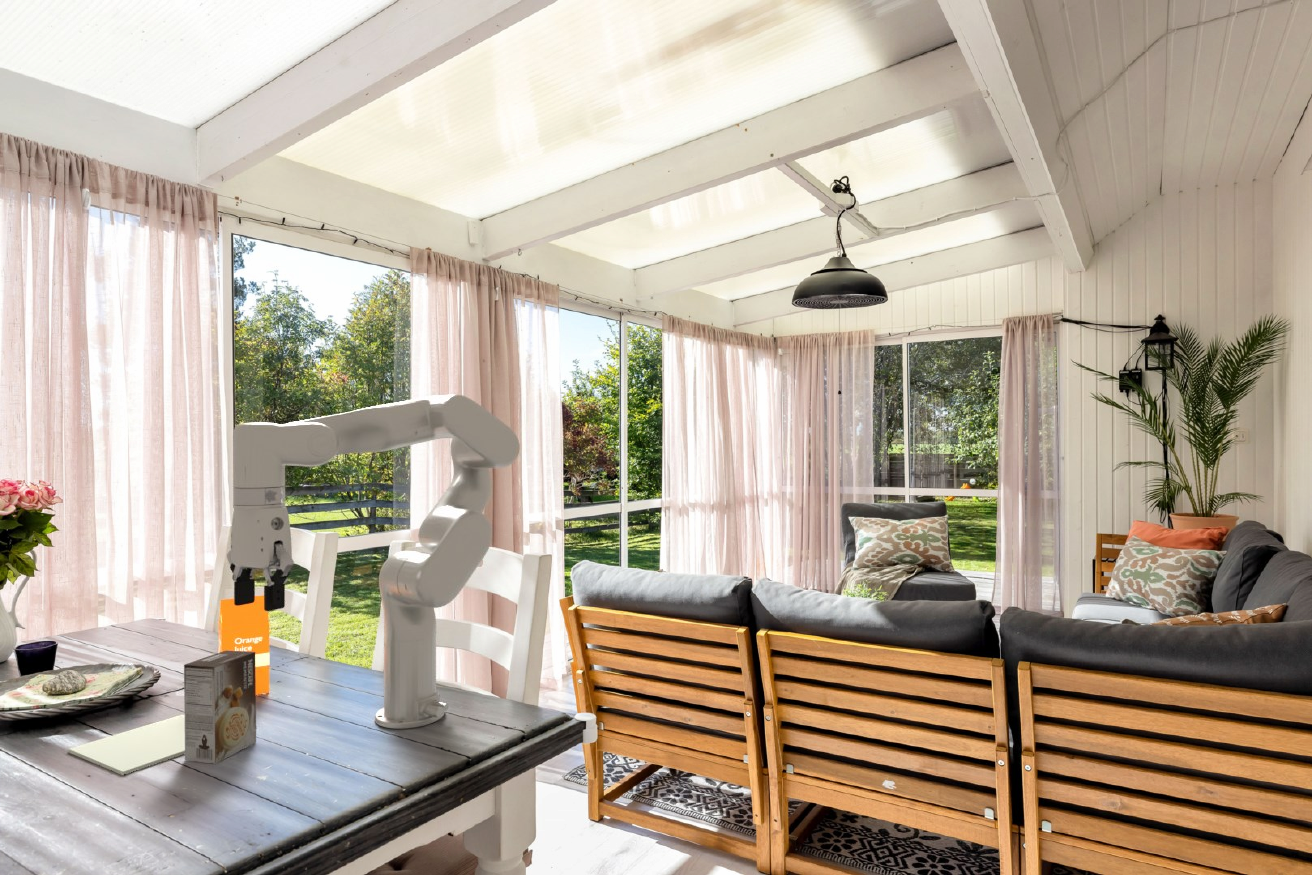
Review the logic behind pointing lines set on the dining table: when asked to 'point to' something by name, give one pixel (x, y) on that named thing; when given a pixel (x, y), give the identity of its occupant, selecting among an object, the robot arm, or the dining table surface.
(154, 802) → the dining table surface
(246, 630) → the orange juice
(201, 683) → the coffee box
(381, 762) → the dining table surface
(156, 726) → the mat
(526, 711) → the dining table surface
